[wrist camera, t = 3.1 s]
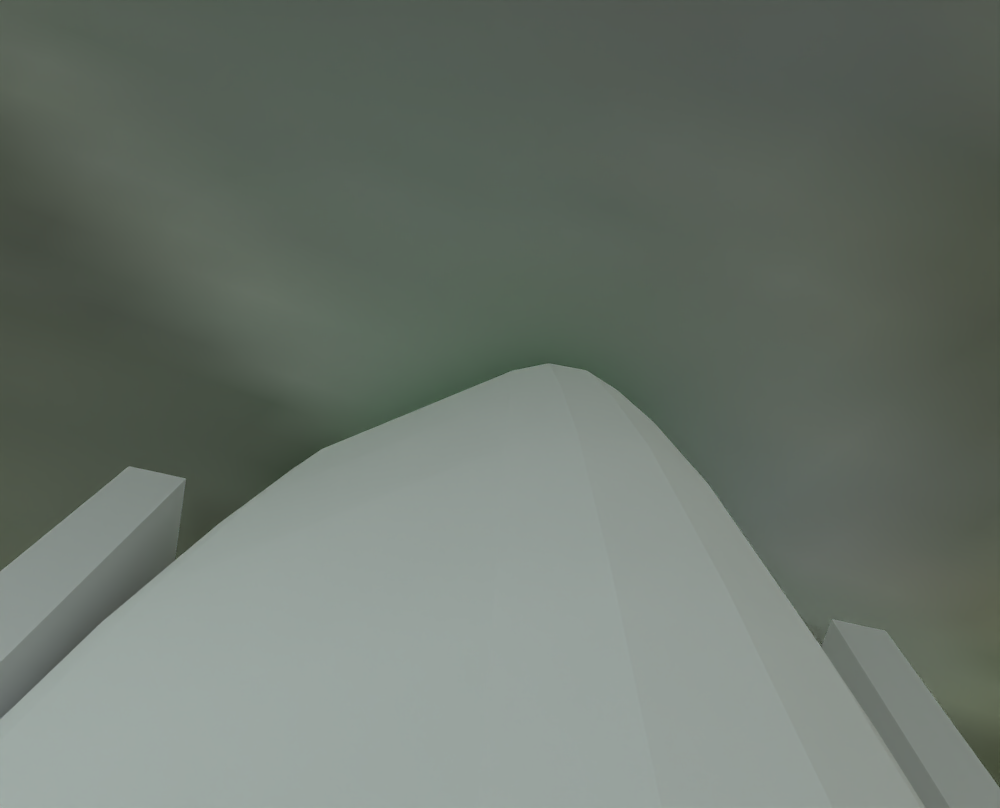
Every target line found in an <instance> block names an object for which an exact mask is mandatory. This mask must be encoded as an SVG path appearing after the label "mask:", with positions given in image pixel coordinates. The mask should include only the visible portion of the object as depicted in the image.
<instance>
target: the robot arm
mask: <svg viewBox="0 0 1000 808" xmlns="http://www.w3.org/2000/svg"><path fill="white" fill-rule="evenodd" d="M185 483H186V478H181V477H177V476H172V475H167V474H163V473H158V472H154V471H149V470H144V469H140V468H135V467H131V466H129V467H127V468H126V469H125V470H124V471H123V472H121V473H120V474H119V475H118V476H116V477H115V478H114V479H113V480H111V481H110V482H109V483H108V484H107V485H105V486H104V487H103V488H102V489H100V490H99V491H98V492H97V493H96V494H94V495H93V496H92V497H91V498H89V499H88V500H87V501H86V502H85V503H83V504H82V505H81V506H80V507H78V508H77V509H76V510H75V511H74V512H72V513H71V514H70V515H69V516H67V517H66V518H65V519H64V520H63V521H61V522H60V523H59V524H58V525H56V526H55V527H54V528H53V529H52V530H50V531H49V532H48V533H47V534H45V535H44V536H43V537H42V538H40V539H39V540H38V541H37V542H36V543H34V544H33V545H32V546H31V547H29V548H28V549H27V550H26V551H25V552H23V553H22V554H21V555H20V556H18V557H17V558H16V559H15V560H14V561H12V562H11V563H10V564H9V565H7V566H6V567H5V568H4V569H3V570H1V571H0V719H1V718H2V717H3V716H4V715H5V714H6V713H7V712H8V711H9V710H11V709H12V708H13V707H14V706H15V705H16V704H17V703H18V702H19V701H20V700H21V699H22V698H23V697H24V696H25V695H26V694H27V693H28V692H29V691H30V690H31V689H32V688H33V687H35V686H36V685H37V684H38V683H39V682H40V681H41V680H42V679H43V678H44V677H45V676H46V675H47V674H48V673H49V672H50V671H51V670H52V669H53V668H54V667H55V666H56V665H57V664H59V663H60V662H61V661H62V660H63V659H64V658H65V657H66V656H67V655H68V654H69V653H70V652H71V651H72V650H73V649H74V648H75V647H76V646H77V645H78V644H79V643H80V642H81V641H83V640H84V639H85V638H86V637H87V636H88V635H89V634H90V633H91V632H92V631H93V630H94V629H95V628H96V627H97V626H98V625H99V624H100V623H101V622H102V621H104V620H105V619H106V618H107V617H108V616H110V615H111V614H112V613H113V612H114V611H115V610H117V609H118V608H119V607H120V606H121V605H123V604H124V603H125V602H126V601H127V600H129V599H130V598H131V597H132V596H133V595H134V594H136V593H137V592H138V591H139V590H140V589H142V588H143V587H144V586H145V585H146V584H148V583H149V582H150V581H151V580H152V579H153V578H155V577H156V576H157V575H158V574H159V573H161V572H162V571H163V570H164V569H165V568H167V567H168V566H169V565H170V564H171V563H172V562H174V561H175V557H176V549H177V542H178V535H179V527H180V520H181V513H182V505H183V498H184V490H185ZM821 648H822V649H823V651H824V652H825V654H826V655H827V657H828V658H829V660H830V661H831V663H832V664H833V666H834V667H835V669H836V670H837V672H838V673H839V675H840V676H841V678H842V679H843V681H844V682H845V683H846V685H847V686H848V688H849V689H850V691H851V692H852V694H853V695H854V697H855V698H856V700H857V701H858V703H859V704H860V706H861V707H862V709H863V710H864V712H865V713H866V715H867V716H868V718H869V719H870V721H871V722H872V724H873V725H874V727H875V728H876V730H877V731H878V733H879V735H880V736H881V738H882V739H883V741H884V743H885V744H886V746H887V747H888V749H889V751H890V752H891V754H892V755H893V757H894V758H895V760H896V762H897V763H898V765H899V766H900V768H901V770H902V771H903V773H904V774H905V776H906V778H907V779H908V781H909V782H910V784H911V785H912V787H913V789H914V790H915V792H916V793H917V795H918V797H919V798H920V800H921V801H922V803H923V805H924V806H925V808H1000V788H999V786H998V785H997V784H996V782H995V781H994V779H993V778H992V777H991V775H990V774H989V773H988V771H987V770H986V768H985V767H984V766H983V764H982V763H981V762H980V760H979V759H978V757H977V756H976V755H975V753H974V752H973V750H972V749H971V748H970V746H969V745H968V744H967V742H966V741H965V739H964V738H963V737H962V735H961V734H960V732H959V731H958V730H957V728H956V727H955V726H954V724H953V723H952V721H951V720H950V719H949V717H948V716H947V714H946V713H945V712H944V710H943V709H942V708H941V706H940V705H939V703H938V702H937V701H936V699H935V698H934V697H933V695H932V694H931V692H930V691H929V690H928V688H927V687H926V685H925V684H924V683H923V681H922V680H921V679H920V677H919V676H918V674H917V673H916V672H915V670H914V669H913V667H912V666H911V665H910V663H909V662H908V661H907V659H906V658H905V656H904V655H903V654H902V652H901V651H900V650H899V648H898V647H897V645H896V644H895V643H894V641H893V640H892V638H891V637H890V636H889V634H888V633H887V632H886V631H885V630H881V629H876V628H871V627H867V626H862V625H858V624H853V623H849V622H844V621H839V620H835V619H831V621H830V624H829V627H828V630H827V632H826V635H825V638H824V641H823V643H822V646H821Z"/></svg>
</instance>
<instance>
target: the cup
mask: <svg viewBox="0 0 1000 808" xmlns="http://www.w3.org/2000/svg"><path fill="white" fill-rule="evenodd" d="M0 808H925V806H924V805H923V803H922V801H921V800H920V798H919V797H918V795H917V793H916V792H915V790H914V789H913V787H912V785H911V784H910V782H909V781H908V779H907V778H906V776H905V774H904V773H903V771H902V770H901V768H900V766H899V765H898V763H897V762H896V760H895V758H894V757H893V755H892V754H891V752H890V751H889V749H888V747H887V746H886V744H885V743H884V741H883V739H882V738H881V736H880V735H879V733H878V731H877V730H876V728H875V727H874V725H873V724H872V722H871V721H870V719H869V718H868V716H867V715H866V713H865V712H864V710H863V709H862V707H861V706H860V704H859V703H858V701H857V700H856V698H855V697H854V695H853V694H852V692H851V691H850V689H849V688H848V686H847V685H846V683H845V682H844V681H843V679H842V678H841V676H840V675H839V673H838V672H837V670H836V669H835V667H834V666H833V664H832V663H831V661H830V660H829V658H828V657H827V655H826V654H825V652H824V651H823V649H822V648H821V646H820V645H819V643H818V642H817V640H816V639H815V637H814V636H813V635H812V633H811V632H810V630H809V629H808V627H807V626H806V624H805V623H804V622H803V620H802V619H801V617H800V616H799V614H798V613H797V611H796V610H795V609H794V607H793V606H792V604H791V603H790V601H789V600H788V598H787V597H786V596H785V594H784V593H783V591H782V590H781V588H780V587H779V585H778V584H777V583H776V581H775V580H774V578H773V577H772V575H771V574H770V572H769V571H768V570H767V568H766V567H765V565H764V564H763V562H762V561H761V559H760V558H759V556H758V555H757V554H756V552H755V551H754V549H753V548H752V546H751V545H750V543H749V542H748V541H747V539H746V538H745V536H744V535H743V533H742V532H741V530H740V529H739V528H738V526H737V525H736V523H735V522H734V520H733V519H732V517H731V516H730V515H729V513H728V512H727V510H726V509H725V507H724V506H723V504H722V503H721V502H720V500H719V499H718V497H717V496H716V494H715V493H714V491H713V490H712V489H711V487H710V486H709V484H708V483H707V482H706V481H705V480H704V479H703V477H702V476H701V475H700V474H699V473H698V472H697V471H696V469H695V468H694V467H693V466H692V465H691V464H690V463H689V462H688V460H687V459H686V458H685V457H684V456H683V455H682V454H681V452H680V451H679V450H678V449H677V448H676V447H675V446H674V444H673V443H672V442H671V441H670V440H669V439H668V438H667V437H666V435H665V434H664V433H663V432H662V431H661V430H660V429H659V427H658V426H657V425H656V424H655V423H654V422H653V421H652V420H651V419H650V418H649V417H647V416H646V415H645V414H644V413H643V412H642V411H641V410H639V409H638V408H637V407H636V406H635V405H634V404H633V403H631V402H630V401H629V400H628V399H627V398H626V397H625V396H624V395H622V394H621V393H620V392H619V391H618V390H616V389H615V388H613V387H612V386H610V385H609V384H607V383H605V382H604V381H602V380H601V379H599V378H598V377H596V376H595V375H593V374H592V373H590V372H588V371H587V370H583V369H577V368H572V367H566V366H561V365H556V364H550V363H548V364H543V365H538V366H533V367H528V368H523V369H518V370H513V371H510V372H507V373H505V374H503V375H500V376H498V377H495V378H493V379H490V380H488V381H486V382H483V383H481V384H478V385H476V386H473V387H471V388H469V389H466V390H464V391H461V392H459V393H456V394H454V395H452V396H449V397H447V398H444V399H442V400H439V401H437V402H435V403H432V404H430V405H427V406H425V407H422V408H420V409H418V410H415V411H413V412H410V413H408V414H405V415H403V416H401V417H398V418H396V419H393V420H391V421H388V422H386V423H384V424H381V425H379V426H376V427H374V428H371V429H369V430H367V431H364V432H362V433H359V434H357V435H354V436H352V437H350V438H347V439H345V440H342V441H340V442H337V443H335V444H333V445H330V446H328V447H325V448H323V449H321V450H320V451H318V452H317V453H315V454H314V455H312V456H311V457H309V458H308V459H306V460H305V461H303V462H302V463H300V464H299V465H297V466H296V467H294V468H293V469H292V470H290V471H289V472H288V473H286V474H285V475H284V476H282V477H281V478H280V479H278V480H277V481H275V482H274V483H273V484H271V485H270V486H269V487H267V488H266V489H265V490H263V491H262V492H261V493H259V494H258V495H257V496H255V497H254V498H253V499H251V500H250V501H249V502H247V503H246V504H245V505H243V506H242V507H241V508H239V509H238V510H236V511H235V512H234V513H232V514H231V515H230V516H228V517H227V518H226V519H224V520H223V521H222V522H220V523H219V524H218V525H216V526H215V527H214V528H213V529H212V530H210V531H209V532H208V533H207V534H206V535H205V536H203V537H202V538H201V539H200V540H199V541H197V542H196V543H195V544H194V545H193V546H191V547H190V548H189V549H188V550H187V551H186V552H184V553H183V554H182V555H181V556H180V557H178V558H177V559H176V560H175V561H174V562H172V563H171V564H170V565H169V566H168V567H167V568H165V569H164V570H163V571H162V572H161V573H159V574H158V575H157V576H156V577H155V578H153V579H152V580H151V581H150V582H149V583H148V584H146V585H145V586H144V587H143V588H142V589H140V590H139V591H138V592H137V593H136V594H134V595H133V596H132V597H131V598H130V599H129V600H127V601H126V602H125V603H124V604H123V605H121V606H120V607H119V608H118V609H117V610H115V611H114V612H113V613H112V614H111V615H110V616H108V617H107V618H106V619H105V620H104V621H102V622H101V623H100V624H99V625H98V626H97V627H96V628H95V629H94V630H93V631H92V632H91V633H90V634H89V635H88V636H87V637H86V638H85V639H84V640H83V641H81V642H80V643H79V644H78V645H77V646H76V647H75V648H74V649H73V650H72V651H71V652H70V653H69V654H68V655H67V656H66V657H65V658H64V659H63V660H62V661H61V662H60V663H59V664H57V665H56V666H55V667H54V668H53V669H52V670H51V671H50V672H49V673H48V674H47V675H46V676H45V677H44V678H43V679H42V680H41V681H40V682H39V683H38V684H37V685H36V686H35V687H33V688H32V689H31V690H30V691H29V692H28V693H27V694H26V695H25V696H24V697H23V698H22V699H21V700H20V701H19V702H18V703H17V704H16V705H15V706H14V707H13V708H12V709H11V710H9V711H8V712H7V713H6V714H5V715H4V716H3V717H2V718H1V719H0Z"/></svg>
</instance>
